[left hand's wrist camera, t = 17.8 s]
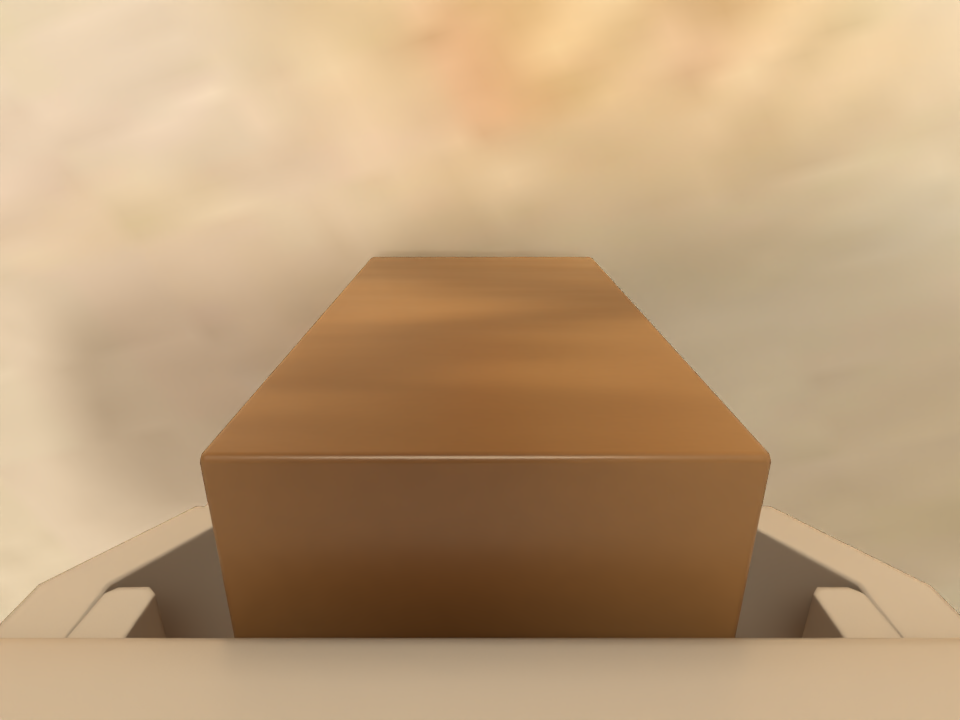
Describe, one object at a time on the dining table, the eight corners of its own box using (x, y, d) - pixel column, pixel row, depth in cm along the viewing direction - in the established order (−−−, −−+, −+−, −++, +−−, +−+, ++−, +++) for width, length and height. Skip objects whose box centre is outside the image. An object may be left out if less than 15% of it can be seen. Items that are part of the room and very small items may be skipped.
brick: (592, 256, 13) (776, 455, 5) (575, 496, 15) (683, 902, 7) (370, 256, 13) (194, 455, 5) (387, 497, 15) (283, 903, 7)
